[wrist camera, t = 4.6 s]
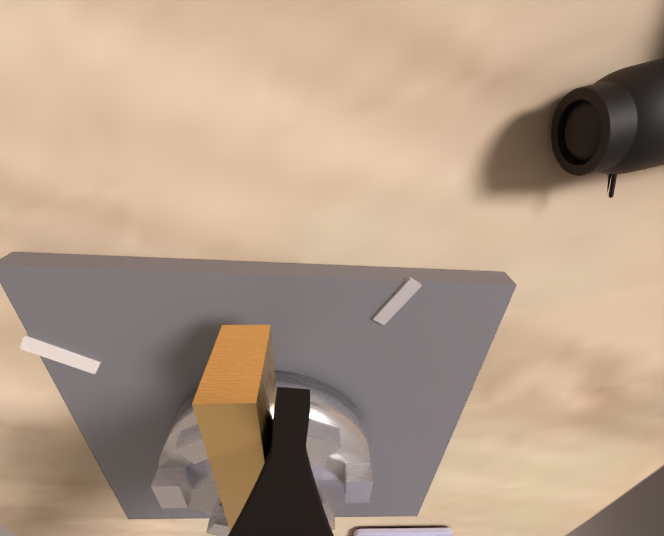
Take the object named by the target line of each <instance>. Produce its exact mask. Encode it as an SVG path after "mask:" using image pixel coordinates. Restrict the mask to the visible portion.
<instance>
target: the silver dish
mask: <svg viewBox="0 0 664 536" xmlns="http://www.w3.org/2000/svg"><path fill="white" fill-rule="evenodd" d="M277 387H287V388H300V389H310V417H309V425H308V433H307V441H306V449H307V453H308V457H309V461H310V465H311V469H312V472H313V476H314V479H315V483H316V486H317V489H318V492H319V496H320V499H321V502H322V505H323V508H324V511H325V513H326V516H327V519H328V522H329V525H330V528H331V530H334V529H335V517H334V511H336V510H339V509H341V508H342V507H344V506H346V505H348V504H349V503H370V497H371V491H372V486H373V475H372V468H371V460H370V453H369V445H368V438H367V431H366V425H365V420H364V418H363V415H362V413H361V411H360V410H359V408H358V407H357V405H356V404H355V403H354V402H353V401H352V400H351V399H350V398H349V397H347V396H346V395H345V394H343V393H342V392H341V391H339V390H337V389H336V388H334V387H332V386H330V385H328V384H326V383H323V382H321V381H318V380H315V379H312V378H309V377H305V376H301V375H296V374H290V373H282V372H275V365H274V354H273V343H272V332H271V325H222V327H221V329H220V332H219V334H218V337H217V340H216V342H215V345H214V347H213V350H212V353H211V355H210V358H209V361H208V363H207V366H206V368H205V371H204V374H203V376H202V379H201V382H200V384H199V387H198V389H197V391H196V392H195V393H193V394H192V395H191V396H190V397H189V398H188V399H187V400H186V401H185V402H184V404H183V405H182V406H181V408H180V410H179V412H178V414H177V416H176V419H175V421H174V424H173V426H172V428H171V431H170V433H169V436H168V438H167V441H166V443H165V445H164V448H163V450H162V453H161V455H160V459H159V468H158V470H157V473H156V475H155V478H154V480H153V483H152V485H151V488H152V490H153V492H154V494H155V496H156V498H157V500H158V502H159V504H160V506H161V508H162V509H164V508H188V506H191V507H192V508H194V509H196V510H199V511H201V512H204V513H206V514H209V515H211V516H210V520H209V524H208V528H207V532H206V533H208V534H213V535H218V536H228V535H229V533H230V531H231V529H232V527H233V526H234V524H235V522H236V520H237V518H238V516H239V514H240V513H241V511H242V509H243V507H244V505H245V503H246V501H247V499H248V497H249V495H250V493H251V491H252V489H253V487H254V485H255V483H256V481H257V479H258V476H259V474H260V472H261V470H262V468H263V465H264V463H265V461H266V459H267V457H268V454H269V452H270V443H271V434H272V424H273V414H274V406H275V399H276V392H277Z"/></svg>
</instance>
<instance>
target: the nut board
mask: <svg viewBox="0 0 664 536" xmlns="http://www.w3.org/2000/svg"><path fill="white" fill-rule="evenodd" d="M0 283H1V285H2V287H3V289H4V291H5V293H6V294H7V296H8V298H9V300H10V302H11V304H12V305H13V307H14V309H15V311H16V313H17V315H18V317H19V318H20V320H21V322H22V324H23V326H24V328H25V329H26V331H27V333H28V335H29V337H28V336H25V337H24V338H23V340H22V343H21V347H20V349H22V350H25V351H28V352H31V353H34V354H36V355H39V356H40V357H41V359H42V361H43V363H44V365H45V366H46V368H47V370H48V372H49V374H50V376H51V377H52V379H53V381H54V383H55V385H56V387H57V389H58V390H59V392H60V394H61V396H62V398H63V400H64V401H65V403H66V405H67V407H68V409H69V411H70V413H71V414H72V416H73V418H74V420H75V422H76V424H77V425H78V427H79V429H80V431H81V433H82V435H83V437H84V438H85V440H86V442H87V444H88V446H89V448H90V449H91V451H92V453H93V455H94V457H95V459H96V461H97V462H98V464H99V466H100V468H101V470H102V472H103V473H104V475H105V477H106V479H107V481H108V483H109V485H110V486H111V488H112V490H113V492H114V494H115V496H116V497H117V499H118V501H119V503H120V505H121V507H122V509H123V510H124V512H125V514H126V516H127V518H128V519H187V518H210V516H211V515H209V514H206V513H204V512H201V511H199V510H196V509H194V508H192V507H191V506H188V508H164V509H162V508H161V506H160V504H159V502H158V500H157V498H156V496H155V494H154V492H153V490H152V488H151V485H152V483H153V480H154V478H155V475H156V473H157V470H158V468H159V459H160V455H161V453H162V450H163V448H164V445H165V443H166V441H167V438H168V436H169V433H170V431H171V428H172V426H173V424H174V421H175V419H176V416H177V414H178V412H179V410H180V408H181V406H182V405H183V404H184V402H185V401H186V400H187V399H188V398H189V397H190V396H191V395H192V394H193V393H195V392H196V391H197V389H198V387H199V384H200V382H201V379H202V376H203V374H204V371H205V368H206V366H207V363H208V361H209V358H210V355H211V353H212V350H213V347H214V345H215V342H216V340H217V337H218V334H219V332H220V329H221V327H222V325H271V332H272V343H273V354H274V365H275V372H282V373H290V374H296V375H301V376H305V377H309V378H312V379H315V380H318V381H321V382H323V383H326V384H328V385H330V386H332V387H334V388H336V389H337V390H339V391H341V392H342V393H343V394H345V395H346V396H347V397H349V398H350V399H351V400H352V401H353V402H354V403H355V404H356V405H357V407H358V408H359V410H360V411H361V413H362V415H363V418H364V420H365V425H366V431H367V438H368V445H369V453H370V460H371V468H372V475H373V486H372V491H371V497H370V503H349V504H348V505H346V506H344V507H342V508H341V509H339V510H336V511H334V517H380V516H417V515H418V513H419V511H420V508H421V506H422V504H423V501H424V499H425V497H426V494H427V492H428V490H429V487H430V485H431V483H432V480H433V478H434V476H435V473H436V471H437V469H438V466H439V464H440V462H441V459H442V457H443V455H444V452H445V450H446V448H447V445H448V443H449V441H450V439H451V436H452V434H453V432H454V429H455V427H456V425H457V422H458V420H459V418H460V415H461V413H462V411H463V408H464V406H465V404H466V401H467V399H468V397H469V394H470V392H471V390H472V387H473V385H474V383H475V380H476V378H477V376H478V373H479V371H480V369H481V366H482V364H483V362H484V359H485V357H486V355H487V353H488V350H489V348H490V346H491V343H492V341H493V339H494V336H495V334H496V332H497V329H498V327H499V325H500V322H501V320H502V318H503V315H504V313H505V311H506V308H507V306H508V304H509V301H510V299H511V297H512V294H513V292H514V290H515V287H516V284H515V283H514V282H513V281H512V280H511V278H510V277H509V276H508V275H507V274H506V273H505V272H492V271H468V270H443V269H419V268H394V267H369V266H345V265H320V264H296V263H271V262H247V261H222V260H198V259H173V258H149V257H124V256H100V255H75V254H51V253H26V252H12V253H10V254H8V255H7V256H5V257H3V258H1V259H0Z"/></svg>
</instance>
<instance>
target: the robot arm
mask: <svg viewBox="0 0 664 536" xmlns="http://www.w3.org/2000/svg"><path fill="white" fill-rule="evenodd" d="M309 417H310V389H300V388H287V387H277V392H276V399H275V406H274V414H273V424H272V434H271V443H270V452H269V454H268V457H267V459H266V461H265V463H264V465H263V468H262V470H261V472H260V474H259V476H258V479H257V481H256V483H255V485H254V487H253V489H252V491H251V493H250V495H249V497H248V499H247V501H246V503H245V505H244V507H243V509H242V511H241V513H240V514H239V516H238V518H237V520H236V522H235V524H234V526H233V527H232V529H231V531H230V533H229V535H228V536H334V535H333V533H332V530H331V528H330V525H329V522H328V519H327V516H326V513H325V511H324V508H323V505H322V502H321V499H320V496H319V492H318V489H317V486H316V483H315V479H314V476H313V472H312V469H311V465H310V461H309V457H308V453H307V449H306V441H307V433H308V425H309ZM354 536H453V532H452V529H451V528H374V529H357V530H355V532H354Z"/></svg>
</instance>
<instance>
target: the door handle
mask: <svg viewBox="0 0 664 536" xmlns="http://www.w3.org/2000/svg"><path fill="white" fill-rule="evenodd" d="M551 140H552V147H553V151H554V154H555V157H556V159H557V161H558V163H559V164H560V166H561V167H562V168H563V169H564V170H565V171H566V172H568V173H570V174H572V175H577V176H580V175H586V174H590V173H594V172H599V173H606V174H607V176H608V174H609V177H608V188H609V184H610V179H611V184H610V190H609V197H610V198H612V197H613V195H614V189H615V183H616V177H617V174H621V173H628V172H633V171H638V170H642V169H647V168H651V167H655V166H660V165H664V58H662V59H658V60H654V61H650V62H646V63H642V64H638V65H634V66H630V67H626V68H623V69H620V70H618V71H615V72H613V73H611V74H609V75H607V76H605V77H603V78H602V79H600V80H599V81H597V82H596V83H594V84H592V85H588V86H584V87H580V88H577V89H574V90H572V91H571V92H569V93H568V94H567V95H566V96H565V97H564V98H563V99H562V101H561V102H560V104H559V105H558V107H557V110H556V112H555V115H554V118H553V123H552V130H551ZM611 175H612V178H611ZM608 188H607V192H608Z"/></svg>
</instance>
